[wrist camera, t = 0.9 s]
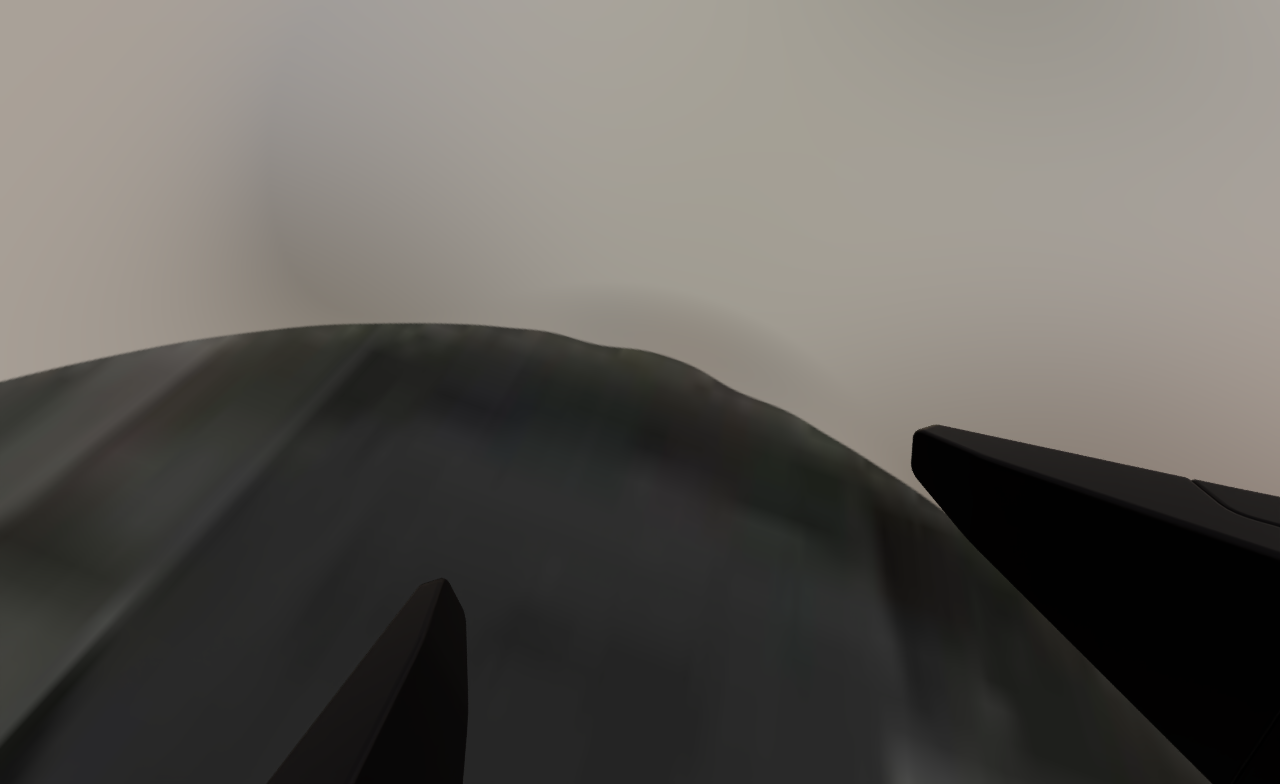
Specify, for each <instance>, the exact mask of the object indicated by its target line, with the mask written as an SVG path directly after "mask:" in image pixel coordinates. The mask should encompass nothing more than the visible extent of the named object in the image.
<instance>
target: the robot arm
mask: <svg viewBox="0 0 1280 784" xmlns="http://www.w3.org/2000/svg"><path fill="white" fill-rule="evenodd" d="M911 467H912V471H913V473H914V475H915V477H916V478H917V479H918V480H919V482H920V483H921V484H922V486H923V487H924V488H925V489H926V490H927V492H928V493H929V494H930V495H931V496H932V497H933V499H934V500H935V501H936V502H937V504H938V505H939V506H940V507H941V508H942V510H943V511H944V512H945V513H946V514H947V516H948V517H949V518H950V519H951V520H952V522H953V523H954V524H955V525H956V526H957V528H958V529H959V530H960V531H961V532H962V533H963V535H964V536H965V537H966V538H967V539H968V540H969V541H970V542H971V543H972V544H973V545H974V547H975V548H976V549H977V550H978V551H979V552H980V553H981V554H982V555H983V556H984V557H985V558H986V559H987V560H988V561H989V562H990V563H991V564H992V565H993V566H994V567H995V568H996V569H997V570H998V571H999V572H1000V573H1001V574H1002V575H1003V576H1004V577H1005V578H1006V579H1007V580H1008V581H1009V582H1010V583H1011V584H1012V585H1013V586H1014V587H1015V588H1016V589H1017V590H1018V591H1019V592H1020V593H1021V594H1022V595H1023V596H1024V597H1025V598H1026V599H1027V600H1028V601H1029V602H1030V603H1031V604H1032V605H1033V606H1034V607H1035V608H1036V609H1037V610H1038V611H1039V612H1040V613H1041V614H1042V615H1043V616H1044V617H1045V618H1046V619H1047V620H1048V621H1049V622H1050V623H1051V624H1052V625H1053V626H1054V627H1055V628H1056V629H1057V630H1058V631H1059V632H1060V633H1061V634H1062V635H1063V636H1064V637H1065V638H1066V639H1067V640H1068V641H1069V642H1070V643H1071V644H1072V645H1073V646H1074V647H1076V648H1077V649H1078V650H1079V651H1080V652H1081V653H1082V654H1083V655H1084V656H1085V657H1086V658H1087V659H1088V660H1089V661H1090V662H1091V663H1092V664H1093V665H1094V666H1095V667H1096V668H1097V669H1098V670H1099V671H1100V672H1101V673H1102V674H1103V675H1104V676H1105V677H1106V678H1107V679H1108V680H1109V681H1110V682H1111V683H1112V684H1113V685H1114V686H1115V687H1116V688H1117V689H1118V690H1119V691H1120V692H1121V693H1122V694H1123V695H1124V696H1125V697H1126V698H1127V699H1128V700H1129V701H1130V702H1131V703H1132V704H1133V705H1134V706H1135V707H1136V708H1137V709H1138V710H1139V711H1140V712H1141V713H1142V714H1143V715H1144V716H1145V717H1146V718H1147V719H1148V720H1149V721H1150V722H1151V723H1152V724H1153V725H1154V726H1155V727H1156V728H1157V729H1158V730H1159V731H1160V732H1161V733H1162V734H1163V735H1164V736H1165V737H1166V738H1167V739H1168V740H1169V741H1170V742H1171V743H1172V744H1173V745H1174V746H1175V747H1176V748H1177V749H1178V750H1179V751H1180V752H1181V753H1182V754H1183V755H1184V756H1185V757H1186V758H1187V759H1188V760H1189V761H1190V762H1191V763H1192V764H1193V765H1194V766H1195V767H1196V768H1197V769H1198V770H1199V771H1200V772H1201V773H1202V774H1203V775H1204V776H1205V777H1206V778H1207V779H1208V780H1209V781H1210V782H1211V783H1212V784H1280V497H1278V496H1273V495H1268V494H1263V493H1258V492H1253V491H1248V490H1243V489H1238V488H1234V487H1228V486H1224V485H1219V484H1214V483H1210V482H1205V481H1201V480H1196V479H1195V480H1190V479H1188V478H1186V477H1181V476H1177V475H1172V474H1167V473H1163V472H1158V471H1153V470H1148V469H1144V468H1139V467H1134V466H1130V465H1125V464H1120V463H1115V462H1111V461H1106V460H1102V459H1097V458H1092V457H1087V456H1083V455H1078V454H1073V453H1069V452H1064V451H1059V450H1055V449H1050V448H1045V447H1040V446H1036V445H1031V444H1026V443H1022V442H1017V441H1012V440H1008V439H1003V438H998V437H994V436H989V435H984V434H980V433H975V432H970V431H965V430H960V429H956V428H951V427H947V426H942V425H931V426H928V427H925V428H922V429H919V430H917V431H916V432H915V433H914V435H913V443H912V458H911ZM467 723H468V677H467V640H466V619H465V614H464V611H463V608H462V606H461V604H460V602H459V600H458V598H457V597H456V595H455V593H454V591H453V589H452V587H451V585H450V583H449V582H448V581H447V580H446V579H444V578H440V579H437V580H433V581H430V582H427V583H424V584H422V585H420V586H419V587H418V588H417V589H416V591H415V592H414V593H413V594H412V596H411V597H410V598H409V600H408V601H407V602H406V604H405V605H404V606H403V607H402V609H401V610H400V611H399V613H398V614H397V615H396V616H395V618H394V619H393V620H392V622H391V623H390V624H389V626H388V627H387V628H386V629H385V631H384V632H383V633H382V635H381V636H380V637H379V639H378V640H377V641H376V642H375V644H374V645H373V646H372V648H371V649H370V650H369V652H368V653H367V654H366V655H365V657H364V658H363V659H362V661H361V662H360V663H359V665H358V666H357V667H356V668H355V670H354V671H353V672H352V674H351V675H350V676H349V677H348V679H347V680H346V681H345V683H344V684H343V685H342V687H341V688H340V689H339V690H338V692H337V693H336V694H335V696H334V697H333V698H332V700H331V701H330V702H329V703H328V705H327V706H326V707H325V709H324V710H323V711H322V713H321V714H320V715H319V716H318V718H317V719H316V720H315V722H314V723H313V724H312V725H311V727H310V728H309V729H308V731H307V732H306V733H305V735H304V736H303V737H302V738H301V740H300V741H299V742H298V744H297V745H296V746H295V748H294V749H293V750H292V751H291V753H290V754H289V755H288V757H287V758H286V759H285V761H284V762H283V763H282V764H281V766H280V767H279V768H278V770H277V771H276V772H275V773H274V775H273V776H272V777H271V779H270V780H269V781H268V783H267V784H463V773H464V761H465V749H466V737H467Z"/></svg>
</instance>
